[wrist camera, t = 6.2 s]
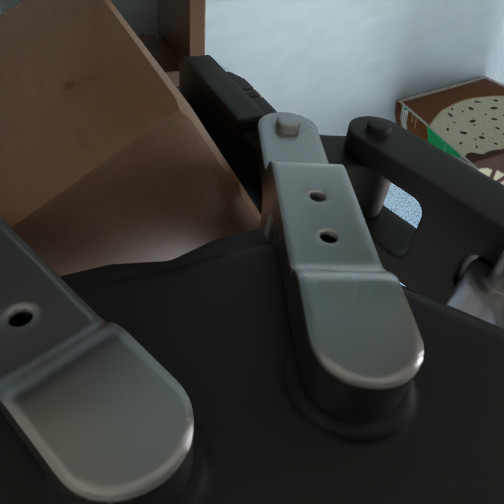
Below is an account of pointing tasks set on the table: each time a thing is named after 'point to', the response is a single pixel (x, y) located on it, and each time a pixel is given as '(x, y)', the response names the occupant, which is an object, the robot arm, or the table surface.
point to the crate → (177, 34)
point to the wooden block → (104, 145)
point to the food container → (461, 122)
